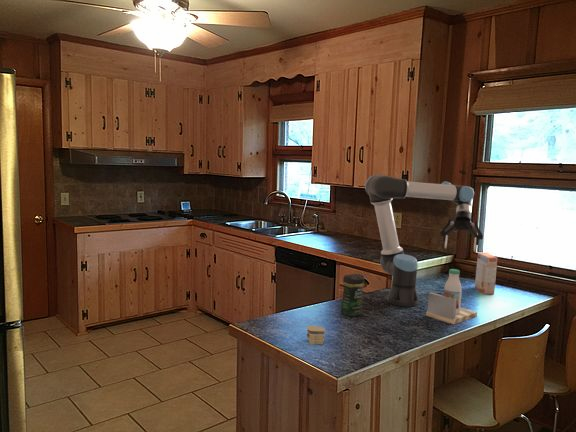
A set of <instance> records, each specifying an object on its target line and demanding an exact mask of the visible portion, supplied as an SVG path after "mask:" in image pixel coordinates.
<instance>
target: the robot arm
mask: <svg viewBox="0 0 576 432" xmlns="http://www.w3.org/2000/svg"><path fill="white" fill-rule="evenodd" d="M364 188H365V189H364V190H365V192H366V194H367V195H368V196H369V201H370V204H371V205H373V206H374V211H375V215H376V221H377V226H378V231H379V235H380V236H379V237H380V240H381V245H382V250H381V251H380V255H381V256H380V262H379V263H380V267H381V268H382V270H383V271H384V272H385V273H386V274H388V275H390V276H391V279H392V280H391V287H390V290H389V292H388V294H387V297H386V300H387V302H388V303H389V304H390V305H391V304H392V305H395V306H398V307H405V308H407V307H408V308H409V307H416V306H418V304H419V297H418V296H419V295H418V293H417V288H416V287H417V286H416V285H417V275H418V268H419V267H418V260H417V258H416V257H415V256H413V255H409V254H405V252H404V248H403V247H401V246H400V242H399V238H398V237H399V236H398V232H397V226H396V222H395V217H394V212H393V207H392V201H393V199H402V200H403V199H405V198H406V197H407V198H418V199H431V200H447V201H451V202H453V203H454V204H456V210H455V211H456V212H455V219H454V221H452V220H451V219H448V220H447V224H445V226H444V227H443V228H442V229H441V231H440V232H439V235H440V236H441V237H443V238H442V241H443V243H444V249H447V245H448V236H449V235H452V233H454V232H455V231H457V230H458V231H467V232H469V233H470V235H471V236H472V237H473V238H474V243H473V252H476V250H477V249H476V247H477V246H479V243H480V240H481V241H482V240H483V239H484V235H483V233H482V231H481V230H480V228H479V225H478V222H477V221H474V222H472V210H473V203H474V202H473V201H474V196H475V191H474V188H472V187H471V186H468V185H458V184H452V183H451V182H449V181H446V180H445V181H442V182H441V183H429V182H419V181H418V182H417V181H408V180H407V179H406V178H399V177H393V176H389V175H383V174H379V173H378V174H373V175H371V176H369V177H368V178H367V179H366V181H365V183H364ZM451 226H452V227H451ZM471 226H472V227H471ZM473 228H474V229H473Z"/></svg>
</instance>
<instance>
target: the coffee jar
mask: <svg viewBox="0 0 576 432" xmlns="http://www.w3.org/2000/svg"><path fill="white" fill-rule="evenodd" d="M342 286H343V292H342V293H343V294H342V300H341V306H340V313H341V314H342V315H343V316H345V317H356V316H357V317H358V316H360V315H362V314H363V291H364V289H363V288H364V286H365V276H364V275H362V274H360V273H352V274H346V275H345V274H344V276H343V279H342Z"/></svg>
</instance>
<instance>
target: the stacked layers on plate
mask: <svg viewBox="0 0 576 432" xmlns="http://www.w3.org/2000/svg"><path fill="white" fill-rule="evenodd" d="M306 328H307V329H306V333H307V334H306V335H305V336H306V338H307V339H308V344H310V345H324V341H325V335H326V328H325V327H321V326H318V325H317V326H316V325H308V326H306Z"/></svg>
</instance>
